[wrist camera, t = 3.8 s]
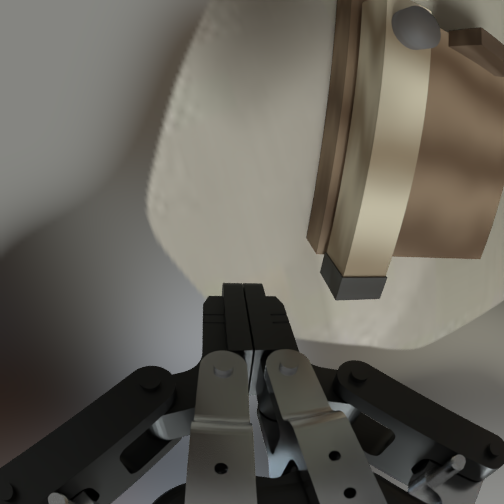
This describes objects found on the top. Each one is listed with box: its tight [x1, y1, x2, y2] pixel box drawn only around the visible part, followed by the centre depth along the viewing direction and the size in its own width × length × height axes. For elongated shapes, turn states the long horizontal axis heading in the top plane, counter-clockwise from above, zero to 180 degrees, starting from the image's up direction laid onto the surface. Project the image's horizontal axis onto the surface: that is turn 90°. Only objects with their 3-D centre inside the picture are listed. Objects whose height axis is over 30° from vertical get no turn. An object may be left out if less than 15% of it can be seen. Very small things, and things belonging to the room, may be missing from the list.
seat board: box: [307, 0, 504, 259], centre depth 17 cm, size 18×18×6 cm
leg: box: [320, 0, 441, 300], centre depth 14 cm, size 18×3×4 cm, turn 175°
